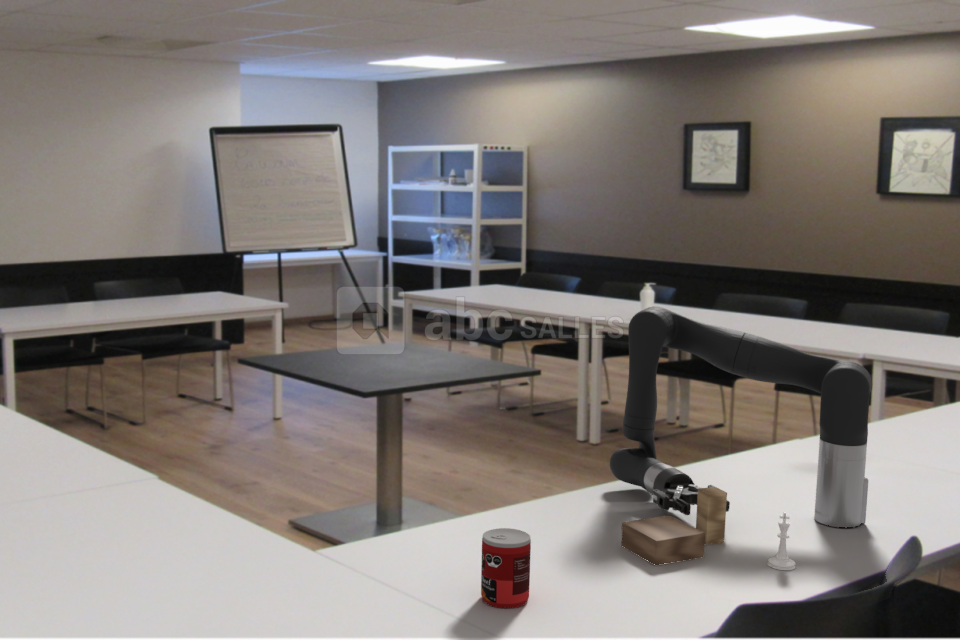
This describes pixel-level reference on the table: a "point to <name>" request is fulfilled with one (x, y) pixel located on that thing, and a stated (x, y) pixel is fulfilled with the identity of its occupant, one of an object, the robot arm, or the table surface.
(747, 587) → the table surface
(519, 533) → the canned food
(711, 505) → the oak block
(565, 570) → the table surface
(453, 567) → the table surface
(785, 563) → the chess piece
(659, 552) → the walnut block
